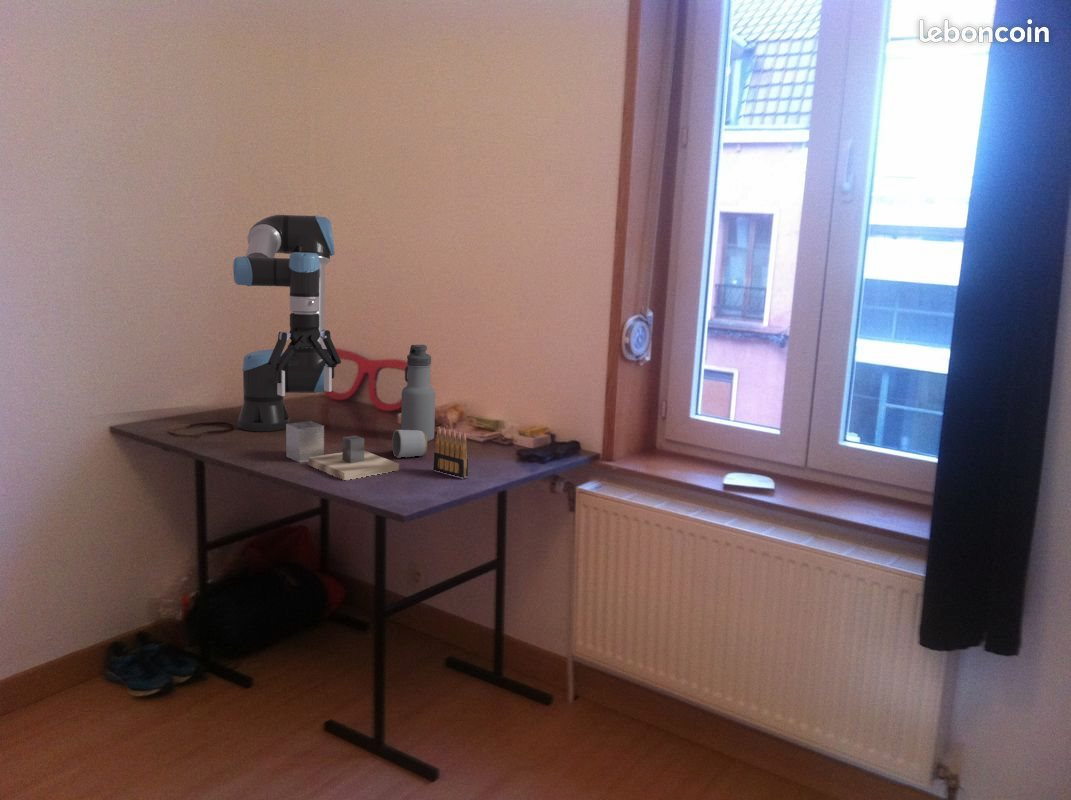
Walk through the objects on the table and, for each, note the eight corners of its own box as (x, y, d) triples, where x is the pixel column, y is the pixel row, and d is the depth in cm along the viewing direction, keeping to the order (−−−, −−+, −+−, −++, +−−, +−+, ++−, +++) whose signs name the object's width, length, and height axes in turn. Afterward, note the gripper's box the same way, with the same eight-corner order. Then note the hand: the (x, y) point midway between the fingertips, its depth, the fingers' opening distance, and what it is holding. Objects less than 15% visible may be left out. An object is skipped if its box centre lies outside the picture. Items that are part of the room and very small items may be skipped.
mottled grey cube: (286, 456, 245) (286, 423, 243) (310, 453, 250) (310, 420, 248) (299, 462, 240) (299, 429, 238) (324, 458, 244) (323, 425, 243)
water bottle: (397, 435, 275) (398, 343, 269) (429, 434, 278) (431, 342, 273) (405, 443, 265) (406, 347, 260) (437, 442, 269) (440, 347, 263)
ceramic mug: (428, 458, 250) (429, 431, 248) (400, 460, 246) (400, 432, 244) (415, 450, 259) (415, 423, 257) (387, 452, 255) (387, 425, 254)
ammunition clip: (433, 471, 237) (434, 426, 235) (438, 470, 238) (439, 425, 236) (463, 479, 230) (464, 433, 228) (468, 478, 232) (469, 432, 230)
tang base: (308, 464, 238) (307, 435, 236) (361, 456, 248) (361, 427, 247) (344, 480, 225) (344, 449, 223) (398, 471, 235) (399, 441, 234)
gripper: (266, 315, 226) (267, 399, 230) (354, 312, 243) (353, 391, 247) (252, 312, 232) (254, 394, 236) (339, 310, 249) (339, 387, 252)
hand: (304, 393), depth 241 cm, fingers open, 13 cm apart
